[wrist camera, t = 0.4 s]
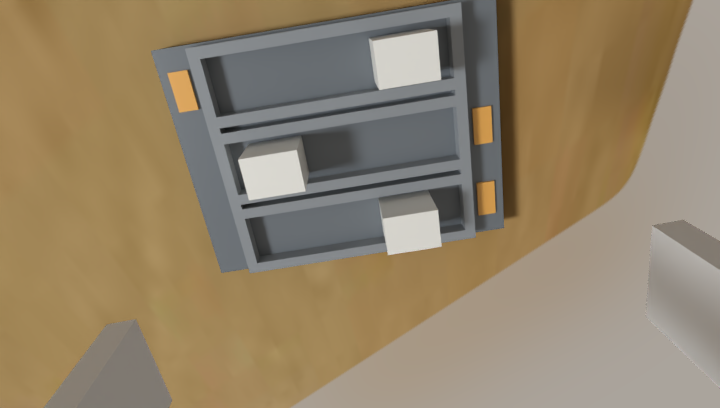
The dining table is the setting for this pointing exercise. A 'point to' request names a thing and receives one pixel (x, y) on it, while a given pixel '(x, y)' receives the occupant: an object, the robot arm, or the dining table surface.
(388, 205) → the tab
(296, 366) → the dining table surface
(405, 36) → the tab
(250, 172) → the tab
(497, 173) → the switch board
